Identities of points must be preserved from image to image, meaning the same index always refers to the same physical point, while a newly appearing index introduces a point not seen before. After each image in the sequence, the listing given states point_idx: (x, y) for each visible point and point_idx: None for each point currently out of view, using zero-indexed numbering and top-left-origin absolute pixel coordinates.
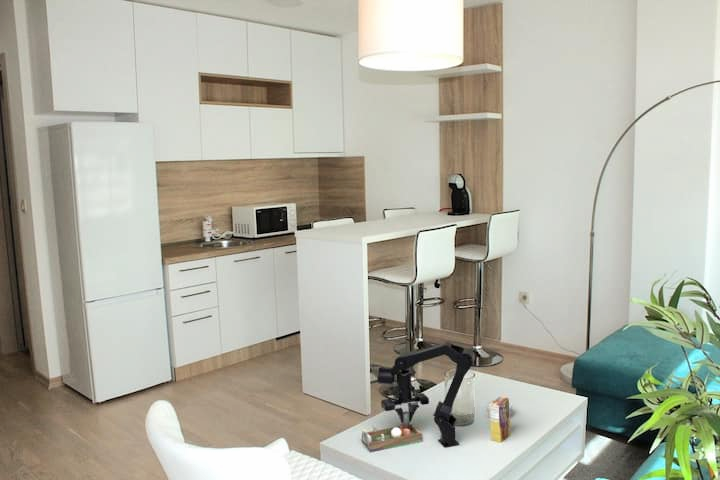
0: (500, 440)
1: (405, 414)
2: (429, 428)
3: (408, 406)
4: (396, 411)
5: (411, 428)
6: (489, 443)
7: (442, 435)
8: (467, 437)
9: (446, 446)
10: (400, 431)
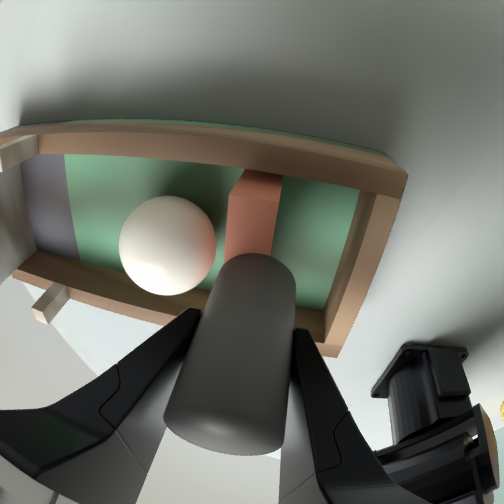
0: (502, 414)
1: (202, 447)
2: (500, 190)
3: (319, 501)
4: (72, 400)
5: (367, 192)
6: (485, 406)
7: (393, 415)
8: (498, 361)
9: (377, 396)
10: (186, 290)
